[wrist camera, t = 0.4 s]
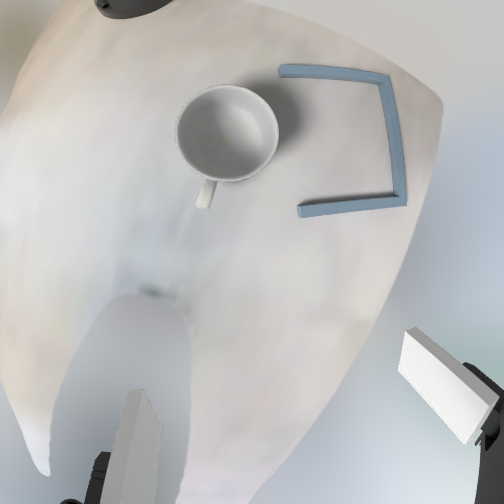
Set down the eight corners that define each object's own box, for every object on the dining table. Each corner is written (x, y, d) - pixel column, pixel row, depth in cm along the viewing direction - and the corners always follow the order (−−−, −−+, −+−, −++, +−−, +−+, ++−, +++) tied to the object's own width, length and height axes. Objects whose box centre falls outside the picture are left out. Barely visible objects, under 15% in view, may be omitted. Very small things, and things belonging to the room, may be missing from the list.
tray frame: (278, 68, 31) (280, 64, 30) (383, 77, 33) (388, 75, 31) (298, 216, 37) (301, 217, 35) (401, 204, 38) (406, 205, 37)
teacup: (209, 91, 31) (208, 68, 23) (280, 129, 33) (298, 115, 26) (156, 181, 33) (141, 180, 25) (229, 219, 35) (233, 228, 28)
